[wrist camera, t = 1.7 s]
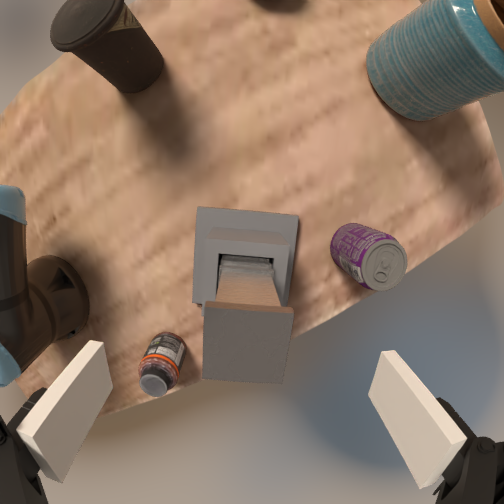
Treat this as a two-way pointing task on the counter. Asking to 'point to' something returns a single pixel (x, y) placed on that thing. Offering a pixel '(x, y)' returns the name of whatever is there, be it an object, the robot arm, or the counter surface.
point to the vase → (440, 58)
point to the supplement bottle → (161, 364)
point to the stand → (242, 246)
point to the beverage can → (369, 256)
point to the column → (246, 324)
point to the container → (108, 42)
